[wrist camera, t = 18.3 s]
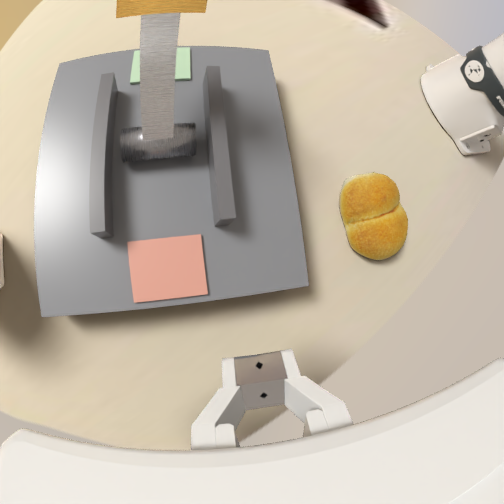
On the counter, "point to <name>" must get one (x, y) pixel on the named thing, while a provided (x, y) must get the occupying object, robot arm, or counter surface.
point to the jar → (1, 262)
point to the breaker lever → (158, 82)
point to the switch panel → (165, 189)
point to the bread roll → (373, 215)
